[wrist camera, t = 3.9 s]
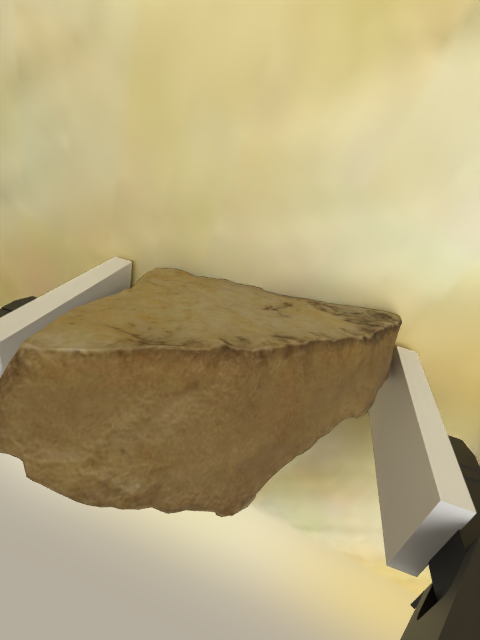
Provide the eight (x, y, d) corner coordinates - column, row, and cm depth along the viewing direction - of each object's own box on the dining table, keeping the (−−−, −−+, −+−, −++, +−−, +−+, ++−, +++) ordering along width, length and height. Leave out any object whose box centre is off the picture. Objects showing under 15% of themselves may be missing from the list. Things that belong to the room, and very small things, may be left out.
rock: (524, 296, 10) (199, 78, 8) (480, 681, 6) (-77, 451, 5) (317, 359, 20) (152, 267, 18) (259, 525, 16) (50, 432, 15)
